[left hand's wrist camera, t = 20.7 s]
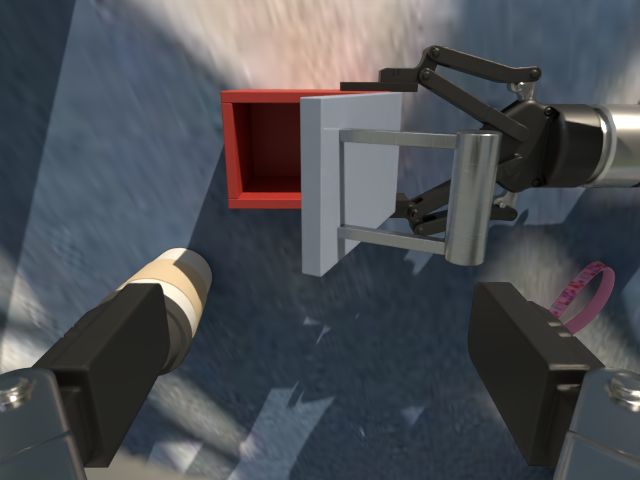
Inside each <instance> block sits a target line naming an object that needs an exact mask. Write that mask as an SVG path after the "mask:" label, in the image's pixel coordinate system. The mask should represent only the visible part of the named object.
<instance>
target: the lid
mask: <svg viewBox="0 0 640 480" xmlns="http://www.w3.org/2000/svg"><path fill="white" fill-rule="evenodd" d="M402 95H403V93H402V92H382V93H365V94H348V95H331V96H314V97H301V98H300V133H301V216H302V273H303V274H308V275H313V276H318V277H322V276H323V275H324V274H325V273H326V272H327V271H328V270H330V269H331V268H332V267H333V266H334V265H335V264H336V263H337V262H339V261H340V260H341V259H342V258H343V257H344V256H345V255H347V254H348V253H349V252H350V251H351V250H352V249H353V248H355V247H356V246H357V245H358V244H359V243H360V242H367V243H374V244H380V245H386V246H392V247H398V248H405V249H411V250H417V251H423V252H429V253H435V254H442V255H443V257H444V259H445V260H447V261H448V262H451V263H453V264H457V265H463V266H476V265H480V264H482V263H483V262H484V258H485V251H486V244H487V237H488V230H489V223H490V216H491V209H492V202H493V195H494V188H495V181H496V174H497V167H498V161H499V154H500V147H501V140H502V133H501V132H497V131H489V130H460V131H457V132H456V133H439V132H418V131H400V126H401V111H402ZM399 146H414V147H429V148H445V149H454V158H453V167H452V176H451V186H450V195H449V204H448V213H447V223H446V232H445V239H443V238H436V237H429V236H422V235H415V234H409V233H402V232H395V231H388V230H381V229H376V228H377V227H378V226H380V225H381V224H382V223H383V222H384V221H385V220H386V219H388V218H389V217H390V216H391V215H392V214H393V213H394V212H395V203H396V188H397V172H398V157H399Z"/></svg>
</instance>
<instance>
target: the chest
mask: <svg viewBox="0 0 640 480" xmlns="http://www.w3.org/2000/svg"><path fill="white" fill-rule="evenodd" d="M382 92H389V91H340V90H281V89H243V90H232V91H221V103H222V104H221V105H222V119H223V133H224V147H225V161H226V175H227V189H228V204H229V209H301V133H300V98H301V97H314V96H331V95H348V94H365V93H382Z"/></svg>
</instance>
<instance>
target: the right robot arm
mask: <svg viewBox="0 0 640 480" xmlns="http://www.w3.org/2000/svg"><path fill="white" fill-rule="evenodd" d="M437 65H440V66H444V67H447V68H450V69H454V70H457V71H460V72H464V73H467V74H470V75H473V76H477V77H480V78H483V79H487V80H490V81H493V82H498V83H507V89H508V91H510V92H513V93H515V94H516V95H517V97H518V100H516V101H515V102H513V103H512V104H510V105H509V106H507V107H506V108H504V109H503V110H501V111H498V110H496V109H495V108H493V107H491V106H489V105H487V104H485V103H484V102H482V101H480V100H479V99H477V98H476V97H474V96H472V95H471V94H469V93H468V92H466V91H464V90H463V89H461V88H460V87H458V86H456V85H455V84H453V83H452V82H450V81H448V80H447V79H445V78H444V77H442V76H440V75H439V74H437V73H436V72H434V71H435V68H436V66H437ZM540 77H541V70H540V68H538V67H523V68H512V67H508V66H505V65H502V64H499V63H495V62H492V61H489V60H486V59H482V58H479V57H476V56H472V55H469V54H466V53H463V52H459V51H456V50H453V49H450V48H446V47H443V46H440V45H434V46H430V47H428V48H426V49H425V50H424V51H423V54H422V58H421V61H420V63H419V64H418V66H416V67H415V68H384V69H382V70H380V71H379V79H378V82H340V91H389V92H417V90H418V84H420V85H422V86H423V87H425V88H427V89H428V90H430V91H431V92H433V93H435V94H436V95H438V96H440V97H441V98H443V99H444V100H446V101H448V102H449V103H451V104H453V105H454V106H456V107H457V108H459V109H461V110H462V111H464V112H466V113H467V114H469V115H471V116H472V117H473V118H474V119H476V120H478V121H479V122H481V123H482V124H484V125H483V127H482V128H480V130H489V131H497V132H501V133H502V140H501V147H500V154H499V161H498V167H497V174H496V181H495V182H496V183H497V184H499V185H500V186H501V187H502V188H504V190H503V192H502V193H501V194H500V195H496V196H493V202H492V209H491V216H490V220H492V219H493V220H505V221H513V220H515V219H516V218H517V215H518V213H517V211H516V210H515V209H514V206H515V202H516V198H517V194H518V192H521V191H523V190H525V189H528V188H574V187H578V186H580V187H583V188H622V187H624V188H625V187H640V105H633V104H596V105H591V106H588V105H585V104H541V103H539V102H537V101H536V100H534V99H533V97H534V85H535V81H537V80H538V79H539V78H540ZM450 186H451V179H450V180H448V181H446V182H444V183H442V184H441V185H439V186H437V187H435V188H433V189H431V190H429V191H427V192H425V193H423V194H421V195H419V196H417V197H415V198H413V199H411V200H409V199H408V198H407V197H406V195H405V194H404V193H396V203H395V212H394V213H393V214H392V215H391V216H390V217H389V218H406V219H408V221H409V225H410V227H411V229H412V231H413V232H414V234H415V235H422V236H427V235H431V234H435V233H439V232H443V231H446V223H447V213H448V210H444V211H440V212H436V213H432V214H428V213H430V212H432V211H434V210H436V209H438V208H440V207H442V206H444V205H446V204H448V203H449V195H450ZM426 214H428V215H426Z"/></svg>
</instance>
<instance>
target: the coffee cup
mask: <svg viewBox="0 0 640 480" xmlns="http://www.w3.org/2000/svg"><path fill="white" fill-rule="evenodd" d="M128 283H159V284H161V286H162V288H163V292H164V298H165V305H166V313H167V320H168V327H169V334H170V349H169V355H168V358H167V361H166V363H165V365H164V366H163V368H162V370H161V372H160V374H159V376H160V375H164V374H166V373H169V372H171V371H172V370H174V369H175V368H177V367H178V366H179V365H180V364H181V363H182V361H183V360H184V358H185V356H186V355H187V354H188V352H189V350H190V347H191V344H192V338H193V336H194V334H195V332H196V329H197V326H198V324H199V321H200V318H201V315H202V312H203V309H204V307H205V304H206V300H207V294H208V291H209V289H210V286H211V283H212V273H211V269H210V267H209V265H208V263H207V262H206V261H205V259H204V258H203V257H202V256H200V255H199V254H197V253H196V252H194V251H191V250H189V249H184V248H175V249H171V250H168V251H166V252H164V253H163V254H162V255H160V256H159V257H158V258H157V259H156V260H154V261H153V262H151V263H149V264H148V265H146V266H145V267H144V268H143V269H141V270H140V271H139V272H138V273H136V274H135V275H134V276H133V277H131V278H130V279H129V280H128V281H127V282H125V283H124V284H123V285H122V286H120V287H119V288H118V289H117V290H116V291H115V292H113V293H111V294H110V295H108V296H107V297H106V298H104V299H103V300H102V301H101V303H100V304H99V305H101V304H103V303H105V302H110V301H111V300H112V299H113V298H114V297H115V296H116V295H117V294H118V293H119V291H120V290H121V289H122V288H123V287H124V286H125V285H126V284H128ZM99 305H98V306H99Z"/></svg>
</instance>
